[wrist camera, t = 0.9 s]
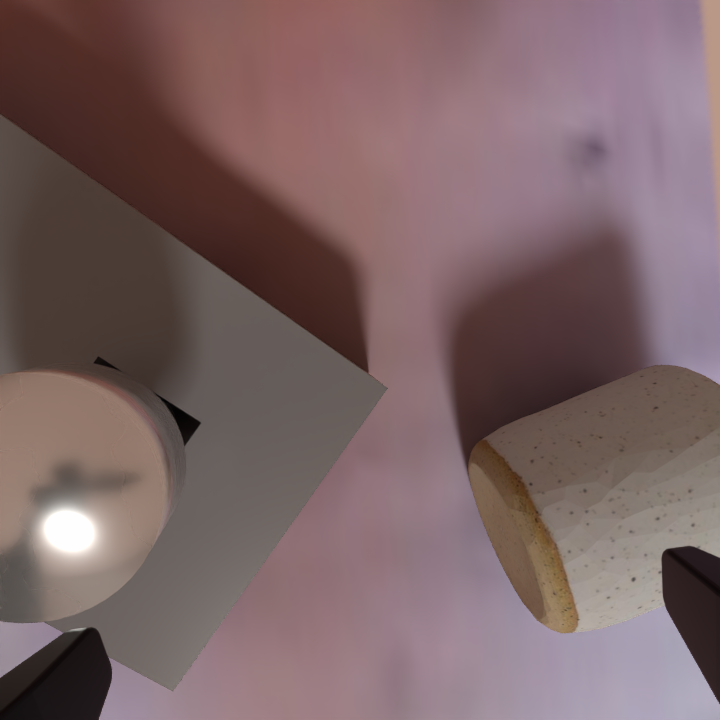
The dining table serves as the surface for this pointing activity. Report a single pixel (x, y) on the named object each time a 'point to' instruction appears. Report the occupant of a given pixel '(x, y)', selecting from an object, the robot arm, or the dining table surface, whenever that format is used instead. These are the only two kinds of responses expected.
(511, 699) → the dining table surface
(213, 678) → the dining table surface
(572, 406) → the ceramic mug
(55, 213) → the housing
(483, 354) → the dining table surface
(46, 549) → the plunger
